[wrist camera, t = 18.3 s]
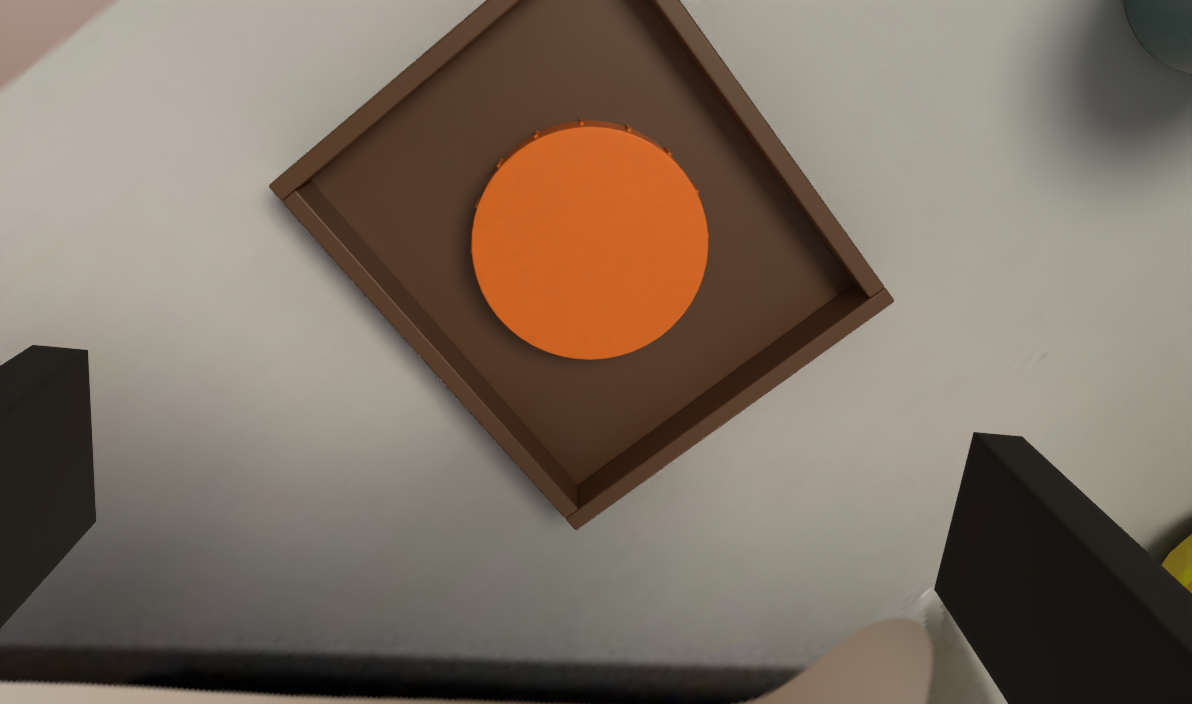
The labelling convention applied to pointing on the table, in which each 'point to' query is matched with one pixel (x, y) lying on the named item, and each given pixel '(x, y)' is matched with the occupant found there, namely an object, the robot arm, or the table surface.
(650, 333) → the lid
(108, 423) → the table surface
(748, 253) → the tray
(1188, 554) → the mug
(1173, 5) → the jar
